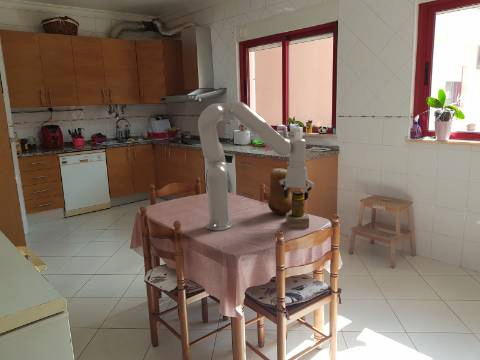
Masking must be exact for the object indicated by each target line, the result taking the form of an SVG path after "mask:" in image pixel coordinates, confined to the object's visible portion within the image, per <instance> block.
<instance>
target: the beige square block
mask: <svg viewBox="0 0 480 360" xmlns="http://www.w3.org/2000/svg"><path fill="white" fill-rule="evenodd" d="M289 214H292V212H289V213H286V214H285V219H286V220H285V221H286V222H285V223H286V225H287V228H288V229H307V228H310V218H309V216H308V214H307V212H305V211H304V214H306V215H307V216H304V217H301V218H299V219H294V218H290V217H287V216H286V215H289ZM296 218H297V217H296Z"/></svg>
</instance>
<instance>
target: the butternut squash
mask: <svg viewBox="0 0 480 360" xmlns="http://www.w3.org/2000/svg"><path fill="white" fill-rule="evenodd" d="M286 172H287V169H285V168H273V169H272V170H271V171H270V173H269V174H270V176H269V180H270V181H269V182H270V185H269V195H268V198H267V206H268V208H269V210H270V211H271V212H272V213H274V214H277V216H284V215H286V213H291V211H292V193H291V188H290V187H288V190H289V195H288V197H287V198H285V196H284V189H283V188H282V186H281V184H280V182H279V181H280V180H282V179H284V178H286ZM283 183H284V184H285V181H284V182H283ZM285 186H286V185H285Z"/></svg>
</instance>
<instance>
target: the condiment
mask: <svg viewBox="0 0 480 360" xmlns="http://www.w3.org/2000/svg"><path fill="white" fill-rule="evenodd" d="M291 196H292V209H291V213H292V214H289V215H286V214H285V217H286V216H287V217H290V218H294V219H299V218H301V217H304V216H308V214H307V213H306V214H307V215H306V214H304V212H305V200H304V192H303V191H301V190H295V191H292V193H291ZM296 217H297V218H296Z"/></svg>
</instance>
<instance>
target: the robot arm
mask: <svg viewBox="0 0 480 360" xmlns="http://www.w3.org/2000/svg"><path fill="white" fill-rule="evenodd" d="M220 121H236V122H238V124H239V125H241V126H243V127H244V128H245V129H246V130H247V131H248V132H250V133H251V134H252V135H253V136H255V137H256V138H257V139H259V141H260V142H261V141H262V143H263V144H265V145H266V146H267V147H269V148H270V150H272V151H273V152H275V154H277V155H278V156H281V157H284V156H285V157H286V156H287V155H289V160H287V161H286V165H288V166H287V167H286V168H287V169H286V170H287V172H286V178H284V179H282V180H280V181H279V182H280V184H281V186H282V188H283V189H284V196H285V198H287V197H288V195H289V190H288V187H290V189H291V188H292V189H301V190H302V189H303V190H304V192H303V197H304V201H307V200H308V199H309V192H310V191H312V189H313V188H314V187H315V183H314V182H312V181H311V180H309V179H308V170H307V167H306V153H307V152H306V151H307V149H306V147H307V145H306V144H307V141H306V139H304V138H296V137H295V138H285V137H284V136H282V135H281V134H280V133H278V132H277V131H276V130H275V129H274V128H273V127H272V126H271V125H270V123H268V122H267V121H266V120H265V119H264V118H263V117H261V116H260V115H259V114H258V113H256V111H254V110H253V109H252V108H250V107H249V106H248V105H247V104H246V103H245V102H242V101H237V102H227V103H226V102H224V103H223V102H222V103H212V104H210V105H208V106H207V107H206V108H205V109H203V111H202V112H201V114H200V115H199V117H198V122H197V125H198V128H197V129H198V134H199V139H200V144H201V145H200V146H201V149H202V155H203V157H204V159H205V160H206V164H207V169H208V170H207V173H206V181H207V195H208V196H207V197H208V212H209V213H208V215H209V217H208V218H209V219H208V220H209V221H208V222H207V224H206V225H205V227H206V229H209V230H212V231H226V230H229V229H230V228H232V227H233V223H232V222H231V221H229V219H230V218H229V215H230V213H229V196H228V166H227V161H226V157H225V151H224V147H223V145H222V143H221V142H220V140H219V135H218V131H217V130H218V129H217V124H218V123H219V122H220ZM284 181H285V184H284V183H283V182H284ZM285 185H286V186H285ZM308 185H309V187H308Z"/></svg>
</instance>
